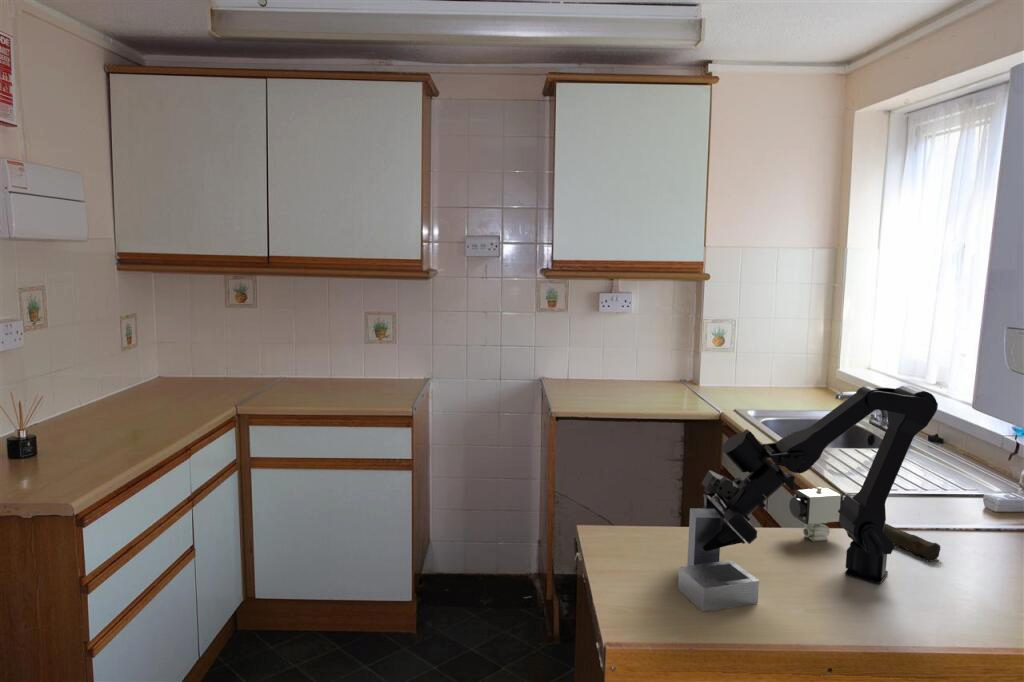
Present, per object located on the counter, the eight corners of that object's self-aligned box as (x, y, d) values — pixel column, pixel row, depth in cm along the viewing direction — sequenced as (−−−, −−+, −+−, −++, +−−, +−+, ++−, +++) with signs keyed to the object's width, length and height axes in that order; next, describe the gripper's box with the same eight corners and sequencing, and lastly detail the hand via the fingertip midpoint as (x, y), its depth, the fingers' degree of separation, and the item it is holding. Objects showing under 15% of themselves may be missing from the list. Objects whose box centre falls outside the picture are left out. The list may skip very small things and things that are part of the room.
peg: (711, 566, 147) (714, 508, 145) (718, 578, 142) (721, 517, 140) (687, 566, 147) (689, 508, 145) (693, 577, 142) (695, 517, 140)
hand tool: (941, 560, 152) (943, 539, 151) (927, 563, 150) (929, 542, 149) (867, 528, 169) (868, 509, 168) (854, 530, 168) (856, 511, 167)
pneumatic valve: (845, 541, 161) (849, 489, 159) (798, 544, 158) (802, 492, 157) (830, 531, 166) (833, 481, 164) (784, 534, 164) (787, 484, 162)
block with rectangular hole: (730, 581, 140) (731, 560, 140) (757, 603, 132) (758, 580, 131) (678, 589, 137) (679, 566, 136) (702, 611, 129) (703, 588, 128)
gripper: (716, 446, 150) (661, 495, 152) (743, 474, 132) (681, 530, 134) (751, 483, 151) (697, 531, 153) (783, 516, 133) (721, 571, 135)
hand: (698, 539), depth 144 cm, fingers open, 9 cm apart
